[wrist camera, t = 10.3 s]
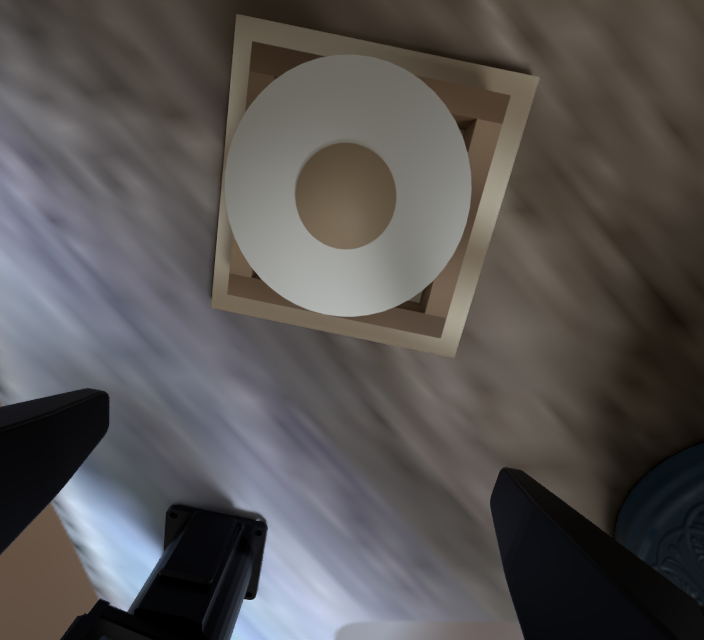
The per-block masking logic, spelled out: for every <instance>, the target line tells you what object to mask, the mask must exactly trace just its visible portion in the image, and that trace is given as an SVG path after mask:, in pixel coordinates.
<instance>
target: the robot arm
mask: <svg viewBox="0 0 704 640" xmlns="http://www.w3.org/2000/svg"><path fill="white" fill-rule="evenodd" d="M108 427H109V395H108V393H107V392H105V391H101V390H96V389H91V388H86V389H81V390H76V391H72V392H67V393H62V394H58V395H53V396H49V397H44V398H39V399H35V400H30V401H25V402H21V403H16V404H11V405H7V406H2V407H0V555H1V554H2V553H3V552H4V551H5V550H6V549H7V547H8V546H9V545H10V544H11V543H12V542H13V541H14V540H15V539H16V538H17V537H18V536H19V535H20V534H21V533H22V532H23V531H24V530H25V528H26V527H27V526H28V525H29V524H30V523H31V522H32V521H33V520H34V519H35V518H36V517H37V516H38V515H39V514H40V513H41V512H42V510H44V508H45V507H46V506H47V505H48V504H49V503H50V502H51V501H52V500H53V499H54V498H55V497H56V495H57V494H58V493H59V492H60V491H61V490H62V488H63V487H64V486H65V485H66V484H67V482H68V481H69V480H70V479H71V477H72V476H73V475H74V473H75V472H76V471H77V470H78V468H79V467H80V466H81V465H82V463H83V462H84V461H85V460H86V458H87V457H88V456H89V455H90V453H91V452H92V451H93V450H94V448H95V447H96V446H97V445H98V443H99V442H100V441H101V439H102V438H103V437H104V436H105V434H106V432H107V430H108ZM490 507H491V512H492V517H493V522H494V527H495V532H496V536H497V541H498V546H499V551H500V555H501V560H502V565H503V569H504V573H505V578H506V581H507V585H508V588H509V592H510V595H511V598H512V601H513V604H514V608H515V611H516V614H517V617H518V620H519V624H520V627H521V630H522V633H523V636H524V640H704V606H700V605H699V603H698V602H697V601H696V600H695V599H694V598H692V597H691V596H690V595H688V594H687V593H686V592H684V591H683V590H682V589H680V588H679V587H678V586H676V585H675V584H674V583H672V582H671V581H670V580H668V579H667V578H666V577H664V576H663V575H662V574H660V573H659V572H658V571H656V570H655V569H654V568H652V567H651V566H649V565H648V564H647V563H645V562H644V561H643V560H641V559H640V558H639V557H637V556H636V555H635V554H633V553H632V552H631V551H629V550H628V549H627V548H625V547H624V546H623V545H621V544H620V543H619V542H617V541H616V540H615V539H613V538H612V537H611V536H609V535H608V534H607V533H605V532H604V531H603V530H601V529H600V528H599V527H597V526H596V525H595V524H593V523H592V522H591V521H589V520H588V519H587V518H585V517H584V516H583V515H581V514H580V513H578V512H577V511H576V510H574V509H573V508H572V507H570V506H569V505H568V504H566V503H565V502H564V501H562V500H561V499H560V498H558V497H557V496H556V495H554V494H553V493H552V492H550V491H549V490H548V489H546V488H545V487H544V486H542V485H541V484H540V483H538V482H537V481H536V480H534V479H533V478H532V477H530V476H529V475H528V474H526V473H525V472H524V471H522V470H519V469H513V468H508V467H504V468H502V469H501V470H500V472H499V475H498V478H497V480H496V483H495V486H494V489H493V492H492V495H491V499H490ZM259 530H261V531H259ZM267 530H268V527H267V525H266V524H265V523H264V522H261V521H256V520H251V519H246V518H241V517H236V516H231V515H226V514H222V513H217V512H212V511H207V510H202V509H197V508H192V507H187V506H182V505H178V504H174V505H171V506H170V508H169V509H168V511H167V512H166V522H165V539H164V553H163V555H162V556H161V558H160V560H159V561H158V563H157V564H156V566H155V568H154V569H153V571H152V573H151V574H150V576H149V577H148V579H147V581H146V582H145V584H144V586H143V587H142V589H141V590H140V592H139V594H138V595H137V597H136V599H135V600H134V602H133V603H132V605H131V607H130V608H129V610H128V612H126V611H123V610H121V609H118V608H116V607H114V606H111V605H109V604H110V602H108V601H105V600H103V599H101V598H100V599H99V600H98V602H97V603H96V604H95V606H94V607H93V608H92V609H91V611H90V612H89V613H88V614H86V613H85V614H84V615H81V616H77V618H76V619H75V620H74V621H73V623H72V624H71V626H70V627H69V628H68V630H67V631H66V632H65V634H64V635H63V637H62V638H61V639H60V640H230V639H231V636H232V633H233V630H234V627H235V624H236V621H237V618H238V615H239V612H240V609H241V606H242V603H243V600H244V599H247V600H252V599H254V598H255V597H256V594H257V591H258V585H259V579H260V573H261V567H262V561H263V554H264V548H265V542H266V536H267Z"/></svg>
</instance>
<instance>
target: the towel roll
mask: <svg viewBox="0 0 704 640" xmlns="http://www.w3.org/2000/svg"><path fill="white" fill-rule="evenodd" d="M224 190H225V201H226V209H227V213H228V218H229V223H230V226H231V229H232V231H233V234H234V237H235V240H236V242H237V244H238V246H239V248H240V250H241V252H242V254H243V255H244V257H245V258H246V260H247V261H248V263H249V265H250V266H251V267H252V268H253V270H254V271H255V272H256V273H257V275H258V276H259V277H260V278H261V279H262V280H263V281H264V282H265V283H266V284H267V285H268V286H269V287H270V288H271V289H273V290H274V291H275V292H277V293H278V294H280V295H281V296H282V297H284V298H285V299H287V300H289V301H291V302H292V303H294V304H296V305H298V306H301V307H303V308H305V309H308V310H310V311H314V312H318V313H321V314H325V315H332V316H342V317H355V316H364V315H371V314H375V313H379V312H383V311H386V310H388V309H391V308H393V307H396V306H398V305H400V304H402V303H404V302H406V301H408V300H409V299H411V298H412V297H414V296H415V295H417V294H418V293H420V292H421V291H422V290H423V289H425V288H426V287H427V286H428V285H429V284H430V283H431V282H432V281H433V280H434V279H435V278H436V277H437V276H438V275H439V274H440V272H441V271H442V270H443V269H444V268H445V266H446V265H447V263H448V262H449V260H450V259H451V257H452V256H453V254H454V252H455V250H456V248H457V246H458V244H459V242H460V240H461V237H462V235H463V232H464V229H465V226H466V223H467V218H468V214H469V209H470V201H471V190H472V188H471V169H470V163H469V157H468V153H467V149H466V146H465V143H464V139H463V136H462V134H461V132H460V130H459V128H458V125H457V123H456V121H455V119H454V118H453V116H452V115H451V113H450V111H449V110H448V108H447V107H446V105H445V104H444V103H443V102H442V100H441V99H440V98H439V97H438V96H437V94H436V93H435V92H434V91H433V90H432V89H431V88H430V87H428V86H427V85H426V84H425V83H424V82H423V81H422V80H421V79H419V78H418V77H416V76H415V75H413V74H412V73H410V72H409V71H407V70H406V69H403V68H401V67H399V66H397V65H395V64H393V63H391V62H388V61H384V60H381V59H378V58H374V57H369V56H362V55H333V56H327V57H322V58H317V59H314V60H311V61H308V62H305V63H302V64H300V65H299V66H297V67H295V68H293V69H291V70H289V71H287V72H285V73H284V74H282V75H281V76H280V77H278V78H277V79H275V80H274V81H273V82H271V83H270V84H269V85H268V86H267V87H266V88H265V89H264V90H263V91H262V92H261V93H260V94H259V95H258V96H257V98H256V99H255V100H254V101H253V103H252V104H251V105H250V106H249V108H248V109H247V111H246V113H245V114H244V116H243V118H242V119H241V121H240V123H239V125H238V127H237V129H236V132H235V134H234V136H233V139H232V142H231V146H230V149H229V153H228V156H227V163H226V169H225V189H224Z"/></svg>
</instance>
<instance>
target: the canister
mask: <svg viewBox="0 0 704 640" xmlns="http://www.w3.org/2000/svg"><path fill="white" fill-rule="evenodd" d="M615 540H616V541H617V542H619V543H620V544H621V545H623V546H624V547H625V548H627V549H628V550H629V551H631V552H632V553H633V554H635V555H636V556H637V557H639V558H640V559H641V560H643V561H644V562H645V563H647V564H648V565H649V566H651V567H652V568H654V569H655V570H656V571H658V572H659V573H660V574H662V575H663V576H664V577H666V578H667V579H668V580H670V581H671V582H672V583H674V584H675V585H676V586H678V587H679V588H680V589H682V590H683V591H684V592H686V593H687V594H688V595H690V596H691V597H692V598H694V599H695V600H696V601H697V602H698V603H699V605H700V606H704V443H702V444H699V445H697V446H694V447H691V448H689V449H687V450H685V451H682V452H680V453H679V454H677V455H675V456H673V457H671V458H669V459H668V460H666V461H665V462H663V463H662V464H660V465H659V466H657V467H656V468H655V469H653V470H652V471H651V472H650V473H649V474H648V475H646V476H645V477H644V478H643V479H642V480H641V481H640V482H639V483H638V485H637V486H636V487H635V488H634V489H633V491H632V492H631V493H630V495H629V496H628V498H627V499H626V501H625V503H624V504H623V506H622V508H621V511H620V513H619V516H618V519H617V523H616V528H615Z"/></svg>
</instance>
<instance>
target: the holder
mask: <svg viewBox="0 0 704 640" xmlns="http://www.w3.org/2000/svg"><path fill="white" fill-rule="evenodd" d="M333 55H362V56H369V57H374V58H378V59H381V60H384V61H388V62H391V63H393V64H395V65H397V66H399V67H401V68H403V69H406V70H407V71H409V72H410V73H412V74H413V75H415V76H416V77H418V78H419V79H421V80H422V81H423V82H424V83H425V84H426V85H427V86H428V87H430V88H431V89H432V90H433V91H434V92H435V93H436V94H437V96H438V97H439V98H440V99H441V100H442V102H443V103H444V104H445V105H446V107H447V108H448V110H449V111H450V113H451V115H452V116H453V118H454V119H455V121H456V123H457V125H458V128H459V130H460V132H461V134H462V136H463V139H464V143H465V146H466V149H467V153H468V157H469V163H470V169H471V188H472V190H471V201H470V209H469V214H468V218H467V223H466V226H465V229H464V232H463V235H462V237H461V240H460V242H459V244H458V246H457V248H456V250H455V252H454V254H453V256H452V257H451V259H450V260H449V262H448V263H447V265H446V266H445V268H444V269H443V270H442V271H441V272H440V274H439V275H438V276H437V277H436V278H435V279H434V280H433V281H432V282H431V283H430V284H429V285H428V286H427V287H426V288H425V289H423V290H422V291H421V292H420V293H418V294H417V295H415V296H414V297H412V298H411V299H409V300H408V301H406V302H404V303H402V304H400V305H398V306H396V307H393V308H391V309H388V310H386V311H383V312H379V313H375V314H371V315H364V316H355V317H342V316H332V315H325V314H321V313H318V312H314V311H310V310H308V309H305V308H303V307H301V306H298V305H296V304H294V303H292V302H291V301H289V300H287V299H285V298H284V297H282V296H281V295H280V294H278V293H277V292H275V291H274V290H273V289H271V288H270V287H269V286H268V285H267V284H266V283H265V282H264V281H263V280H262V279H261V278H260V277H259V276H258V275H257V273H256V272H255V271H254V270H253V268H252V267H251V266H250V265H249V263H248V261H247V260H246V258H245V257H244V255H243V254H242V252H241V250H240V248H239V246H238V244H237V242H236V240H235V237H234V234H233V231H232V229H231V226H230V223H229V218H228V213H227V209H226V201H225V190H224V189H225V169H226V163H227V156H228V153H229V149H230V146H231V142H232V139H233V136H234V134H235V132H236V129H237V127H238V125H239V123H240V121H241V119H242V118H243V116H244V114H245V113H246V111H247V109H248V108H249V106H250V105H251V104H252V103H253V101H254V100H255V99H256V98H257V96H258V95H259V94H260V93H261V92H262V91H263V90H264V89H265V88H266V87H267V86H268V85H269V84H270V83H271V82H273V81H274V80H275V79H277V78H278V77H280V76H281V75H282V74H284V73H285V72H287V71H289V70H291V69H293V68H295V67H297V66H299V65H300V64H302V63H305V62H308V61H311V60H314V59H317V58H322V57H327V56H333ZM539 79H540V77H536V76H531V75H526V74H522V73H517V72H512V71H507V70H503V69H498V68H493V67H488V66H483V65H479V64H474V63H469V62H464V61H460V60H455V59H450V58H445V57H440V56H436V55H431V54H426V53H421V52H417V51H412V50H407V49H402V48H397V47H393V46H388V45H383V44H378V43H374V42H369V41H364V40H359V39H354V38H350V37H345V36H340V35H335V34H331V33H326V32H321V31H316V30H311V29H307V28H302V27H297V26H292V25H288V24H283V23H278V22H273V21H269V20H264V19H259V18H254V17H249V16H245V15H240V14H236V24H235V36H234V47H233V59H232V71H231V82H230V94H229V106H228V117H227V129H226V140H225V152H224V164H223V175H222V187H221V199H220V210H219V222H218V233H217V245H216V257H215V268H214V280H213V292H212V303H211V308H215V309H219V310H224V311H229V312H234V313H239V314H244V315H248V316H253V317H258V318H263V319H268V320H273V321H277V322H282V323H287V324H292V325H297V326H302V327H307V328H311V329H316V330H321V331H326V332H331V333H336V334H340V335H345V336H350V337H355V338H360V339H365V340H370V341H374V342H379V343H384V344H389V345H394V346H399V347H403V348H408V349H413V350H418V351H423V352H428V353H433V354H437V355H442V356H447V357H452V358H454V357H455V354H456V351H457V347H458V344H459V341H460V338H461V334H462V331H463V328H464V325H465V321H466V318H467V315H468V311H469V308H470V305H471V302H472V298H473V295H474V292H475V289H476V285H477V282H478V279H479V275H480V272H481V269H482V266H483V262H484V259H485V256H486V252H487V249H488V246H489V243H490V239H491V236H492V233H493V230H494V226H495V223H496V220H497V216H498V213H499V210H500V207H501V203H502V200H503V197H504V194H505V190H506V187H507V184H508V180H509V177H510V174H511V171H512V167H513V164H514V161H515V157H516V154H517V151H518V148H519V144H520V141H521V138H522V135H523V131H524V128H525V125H526V121H527V118H528V115H529V112H530V108H531V105H532V102H533V99H534V95H535V92H536V89H537V85H538V82H539Z"/></svg>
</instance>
